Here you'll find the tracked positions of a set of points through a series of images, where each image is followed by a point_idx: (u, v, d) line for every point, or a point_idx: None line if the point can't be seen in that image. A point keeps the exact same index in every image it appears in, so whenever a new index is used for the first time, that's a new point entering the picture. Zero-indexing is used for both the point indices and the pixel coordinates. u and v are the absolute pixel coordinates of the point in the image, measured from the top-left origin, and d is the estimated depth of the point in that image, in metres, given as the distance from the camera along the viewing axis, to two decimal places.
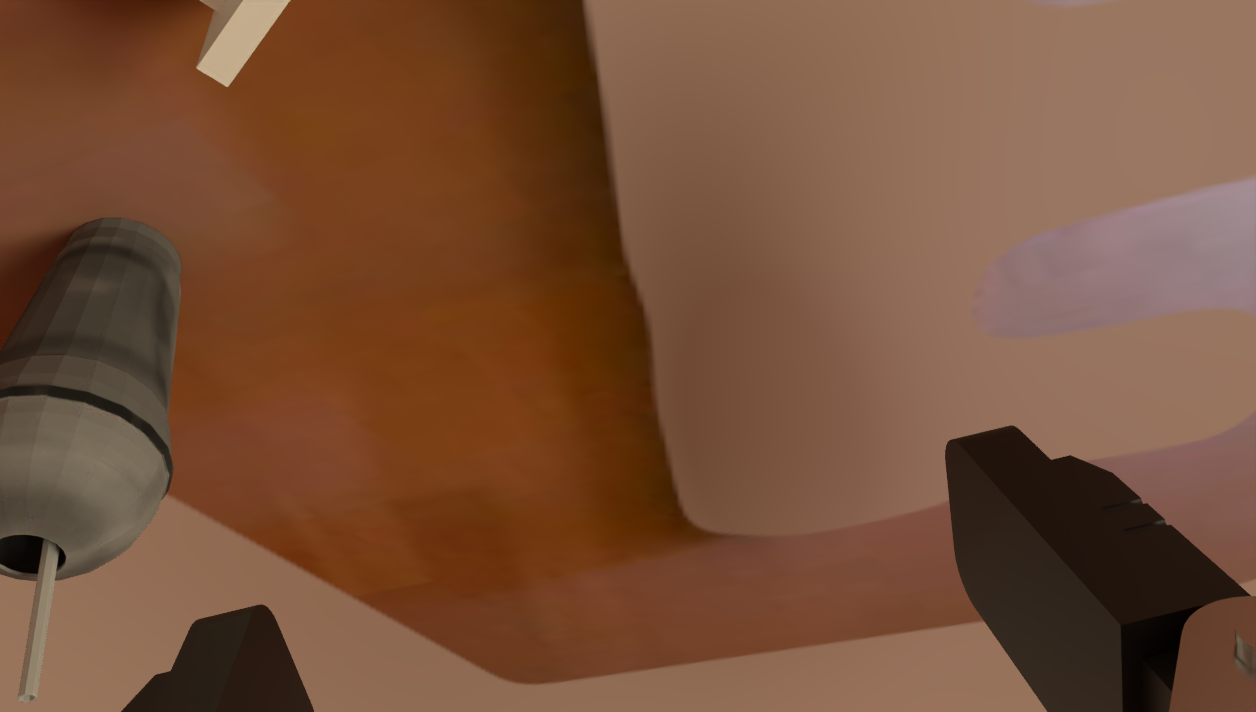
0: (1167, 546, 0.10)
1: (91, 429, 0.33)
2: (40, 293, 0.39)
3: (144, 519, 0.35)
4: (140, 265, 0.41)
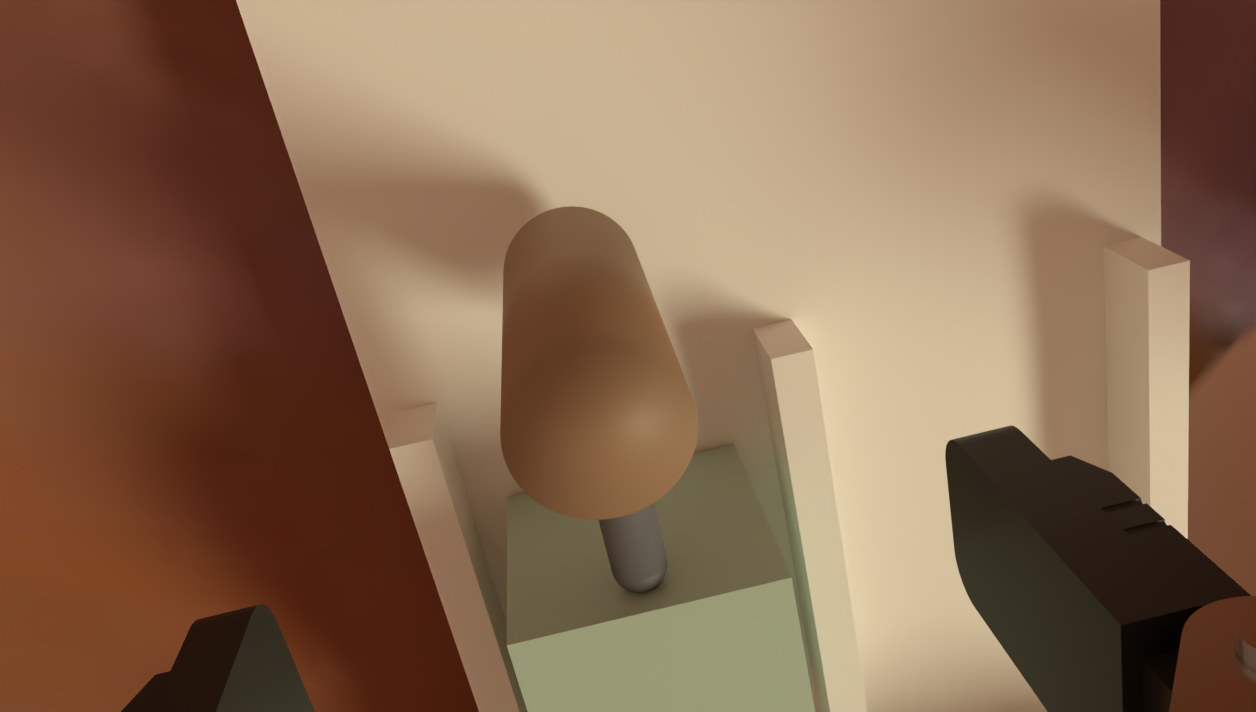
0: (1167, 546, 0.10)
1: None
2: None
3: None
4: None
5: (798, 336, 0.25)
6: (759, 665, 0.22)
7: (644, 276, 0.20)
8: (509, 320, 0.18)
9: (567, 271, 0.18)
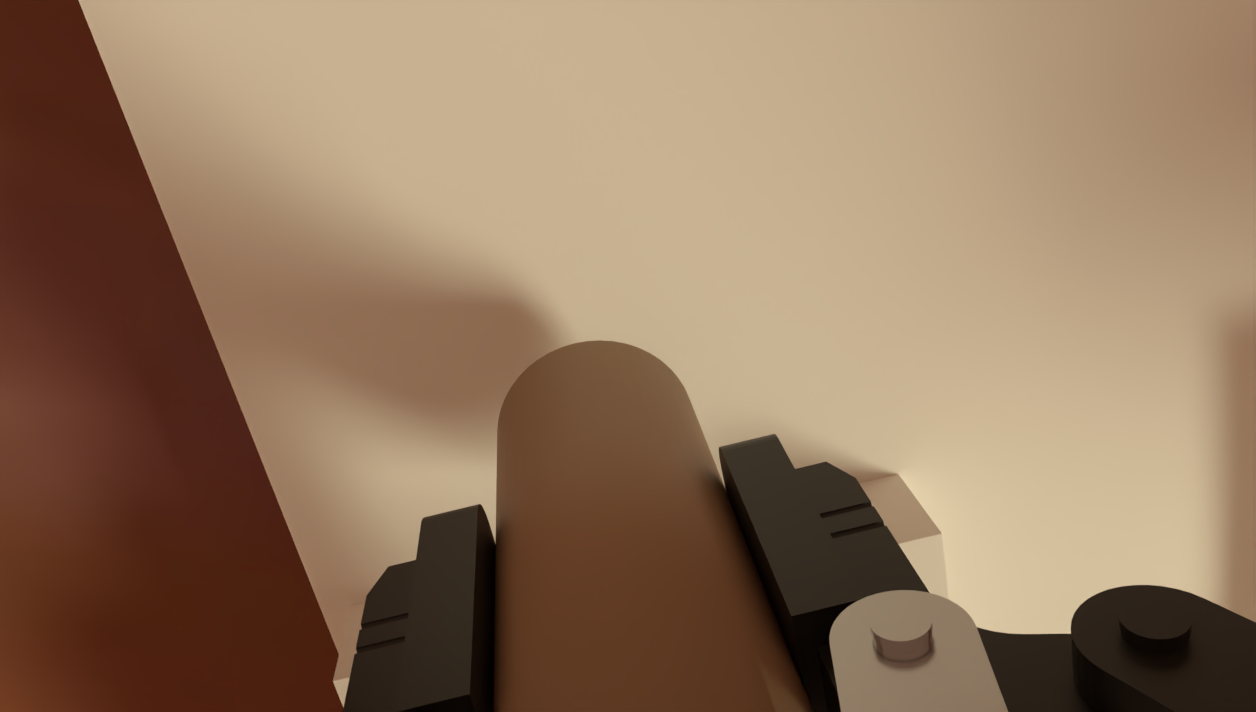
0: (875, 545, 0.11)
1: None
2: None
3: None
4: None
5: (914, 507, 0.18)
6: None
7: (715, 468, 0.13)
8: (507, 580, 0.11)
9: (602, 498, 0.11)
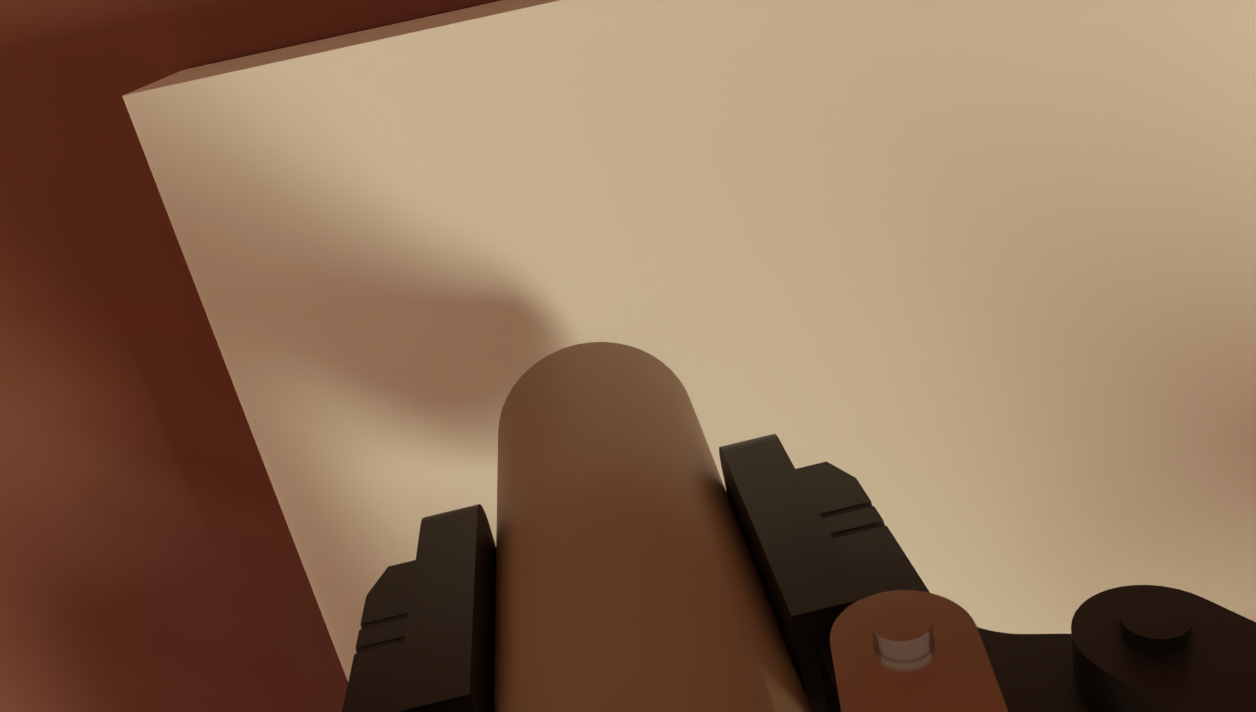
0: (876, 545, 0.11)
1: None
2: None
3: None
4: None
5: None
6: None
7: (716, 471, 0.13)
8: (508, 581, 0.11)
9: (604, 499, 0.11)
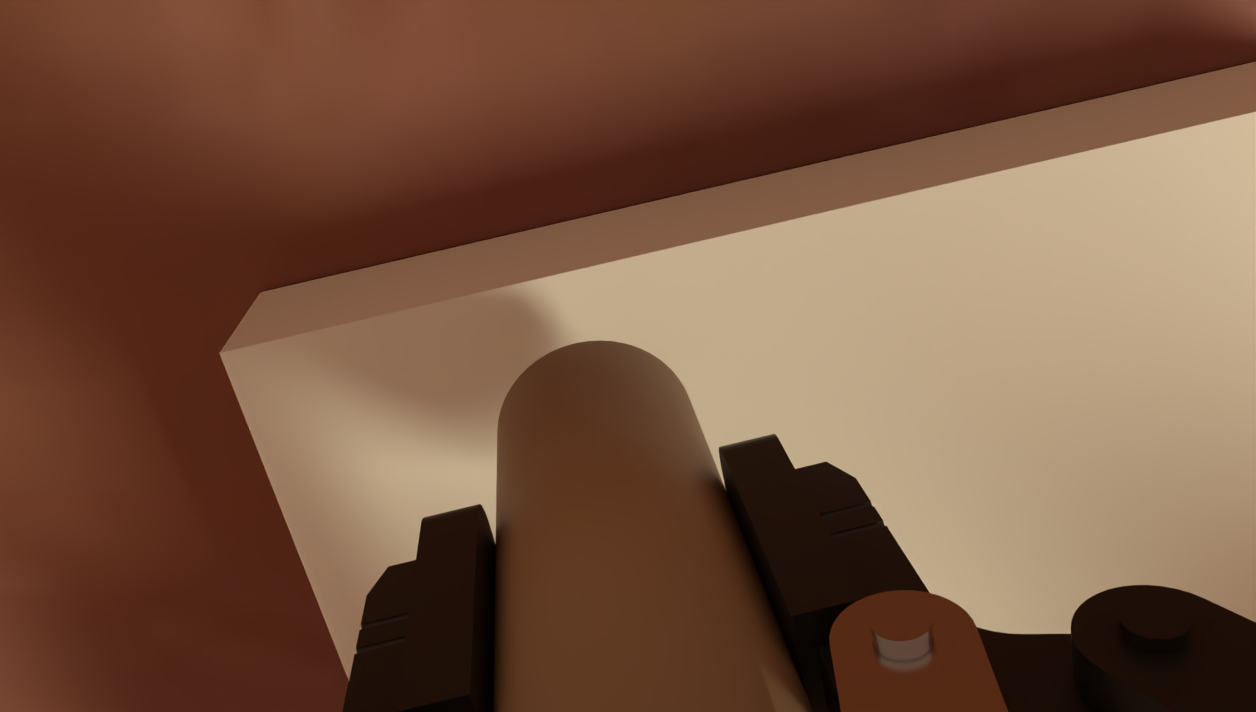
0: (875, 545, 0.11)
1: None
2: None
3: None
4: None
5: None
6: None
7: (715, 469, 0.13)
8: (507, 580, 0.11)
9: (603, 498, 0.11)
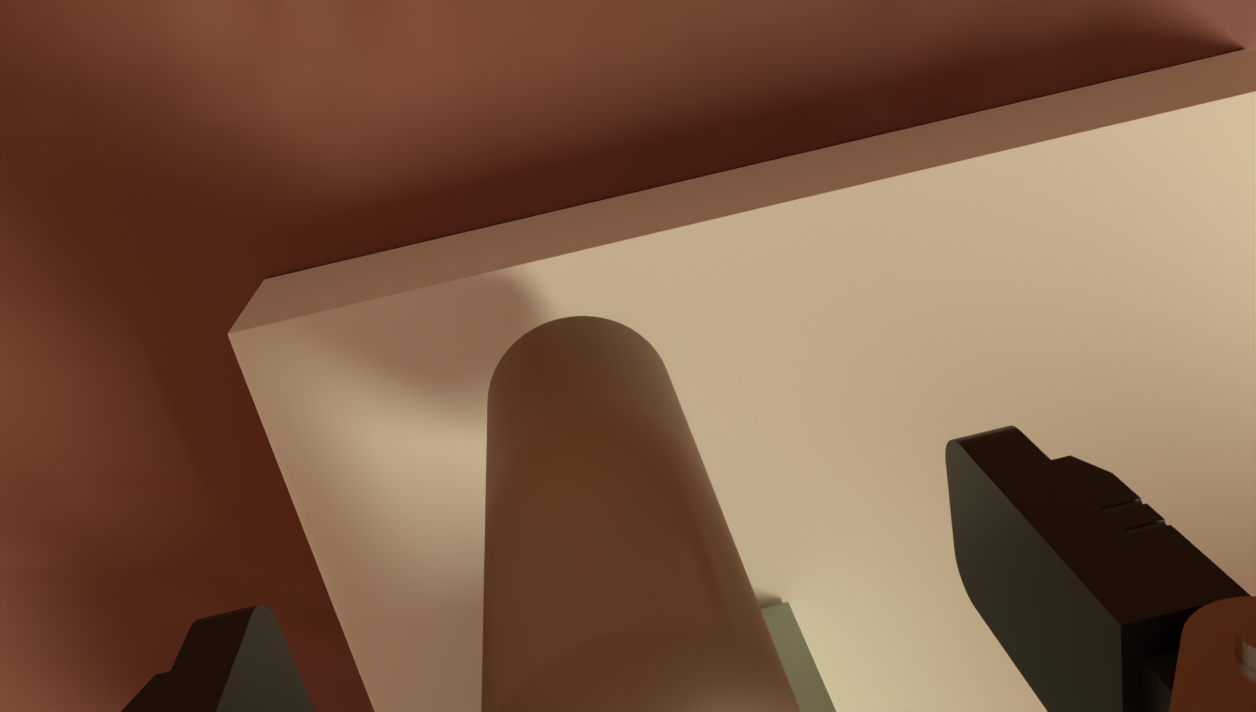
0: (1167, 546, 0.10)
1: None
2: None
3: None
4: None
5: None
6: None
7: (688, 430, 0.14)
8: (495, 524, 0.12)
9: (581, 449, 0.12)
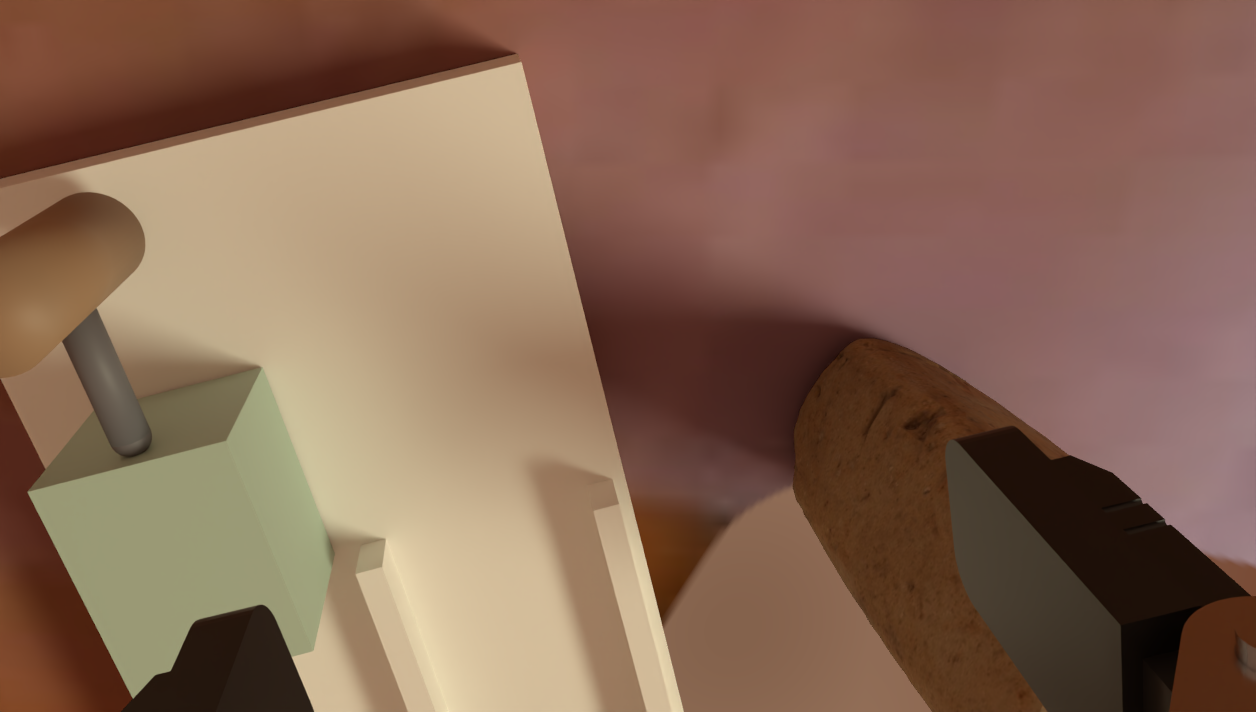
0: (1167, 546, 0.10)
1: None
2: None
3: None
4: None
5: (380, 554, 0.39)
6: (217, 505, 0.32)
7: (107, 236, 0.30)
8: None
9: (17, 229, 0.28)
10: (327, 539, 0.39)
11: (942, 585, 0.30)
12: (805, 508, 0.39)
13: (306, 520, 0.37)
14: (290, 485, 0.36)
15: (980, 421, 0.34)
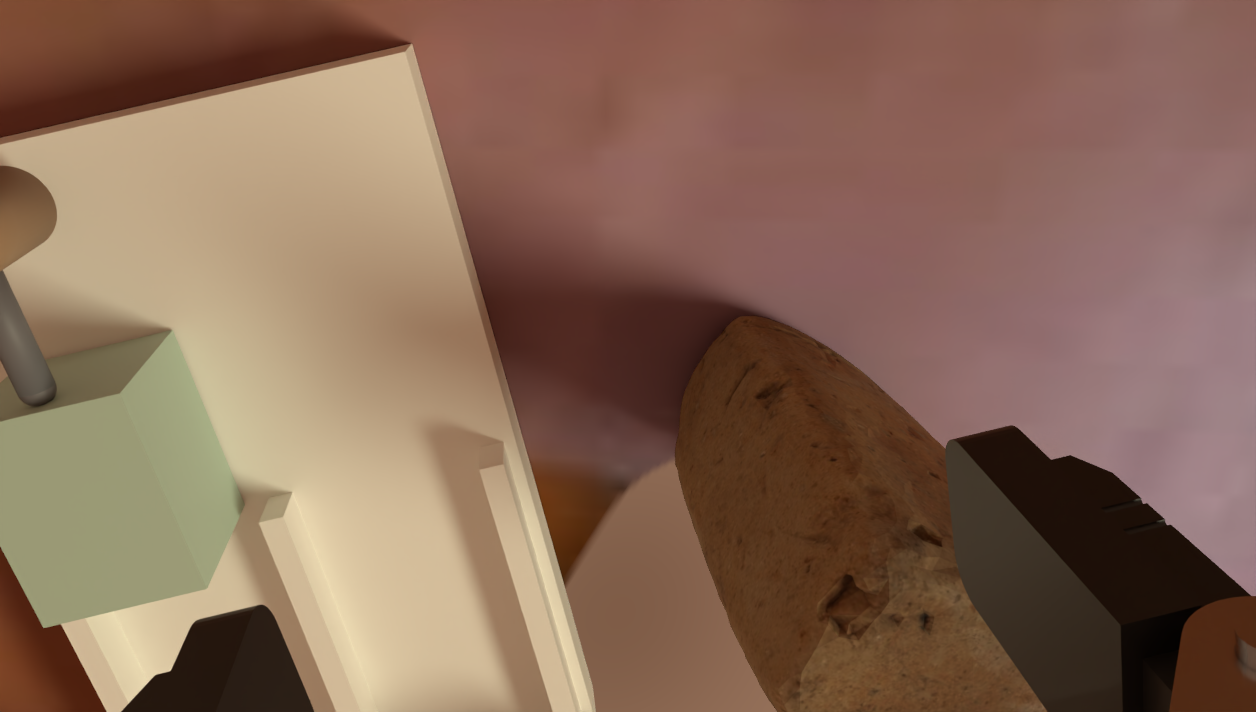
0: (1167, 546, 0.10)
1: None
2: None
3: None
4: None
5: (284, 506, 0.42)
6: (114, 452, 0.35)
7: (12, 205, 0.34)
8: None
9: None
10: (237, 491, 0.43)
11: (761, 538, 0.33)
12: (679, 472, 0.42)
13: (212, 471, 0.41)
14: (195, 438, 0.40)
15: (823, 392, 0.37)
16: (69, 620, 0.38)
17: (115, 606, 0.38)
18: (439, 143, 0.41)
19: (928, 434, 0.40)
